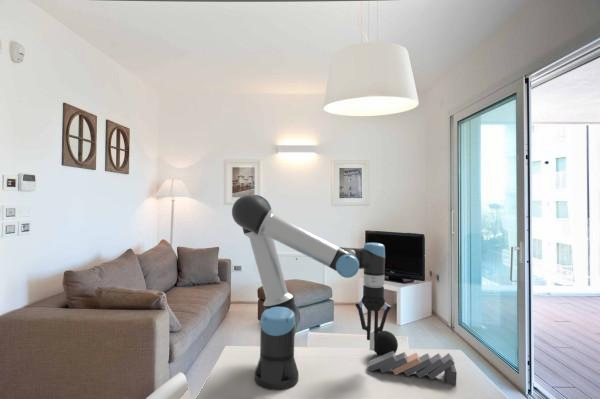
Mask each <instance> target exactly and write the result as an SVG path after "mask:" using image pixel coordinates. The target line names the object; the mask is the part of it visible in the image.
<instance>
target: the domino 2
mask: <svg viewBox="0 0 600 399" xmlns="http://www.w3.org/2000/svg"><path fill="white" fill-rule="evenodd" d="M395 355H396V354H395ZM407 357H408V356H407V354H406V352H402V353H399V354H397V355H396V361H395V362H393V363H391V364H388V365H386V366H383V367H381V368H379V371H380V372H381V373H382V374H384V373H387V372H388V371H392V369H394V368H396V367H399V366H401V365H403V364H406V363H408V361H407Z"/></svg>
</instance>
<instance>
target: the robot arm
mask: <svg viewBox="0 0 600 399" xmlns="http://www.w3.org/2000/svg"><path fill="white" fill-rule="evenodd" d="M231 215H232V219H233V221H234V222H235V224H237V225H238V226H240V227H241V228H242V231H243V235H245V236H246V237H248V238H249V242H250V245H251V248H252V252H253V256H254V260H255V264H256V268H257V272H258V274H259V278H260V281H261V285H262V289H263V293H264V296H265V300H264V302H263V303H262V304H263V308H264V311H263V312H262V313H261V316H260V320H259V323H260V326H259V327H260V337H259V338H260V340H259V341H260V342H259V343H260V344H259V345H260V346H259V349H260V350H259V351H260V353H259V359H258V362H257V364H256V368H255V371H254V383H255V384H256V385H257V386H259V387H261V388H263V389H266V390H273V391H274V390H275V391H278V390H279V391H280V390H285V389H290V388H292V387H294V386H296V385H297V384H298V382H299V374H300V373H299V370H298V369H299V368H298V367H297V362H296V359H295V335H296V331H297V329H298V327H299V324H300V321H301V312H300V308H299V307H298V305H297V304H296V302H295V298H294V295H293V294H292V293H291V292H289V291H288V288H287V285H286V281H285V280H286V279H285V277H284V273H283V269H282V266H281V262H280V259H279V255H278V252H277V249H276V245H275V244H276V243H275V241H276V242H279V243H281V244H283V245H284V246H287V247H288V248H290V249H292V250H294V251H297V252H298V253H300V254H301V255H304V256H307V257H308V258H310V259H312V260H315V261H316V262H318V263H320V264H322V265H324V266H326V267H327V268H330V269H331V270H334V271H336V272H337V274H339V275H340V276H341V277H343V278H347V279H350V278H353V277H355V276H356V275H357V273H358V272H359V269H360V270H363V282H362V283H363V289H362V291H363V292H362V298H361V300H359V301H357V302H356V303H355V307H356V309H357V311H358V316H359V321H360V325H361V329H362V330H363V331H366V340H367V341H369V351H371V352H372V351H374V341H377V339H378V332H382V331H384V328H385V323H386V320H387V317H388V313H389V312H390V310H391V309H392V308H391V307H392V306H391V304H388V303H387V302H386V299H385V298H384V297H385V286H384V285H385V269H386V266H385V264H386V247H385V245H384V244H382V243H379V242H366V243H364V247H361V248H357V247H343V246H340V247H338V246H337V245H335V244H334V243H333V244H332V243H331V242H329V241H327V240H325V239H323V238H321V237H319V236H317V235H315V234H313V233H311V232H309V231H307V230H305V229H304V228H301V227H299V226H298V225H295V224H294V223H292V222H290V221H287V220H285V219H283V218H282V217H279V216H278V215H275V214H274V212H273V210H272V206H271V204H270V203H269V200H268V199H266V198H265V197H263V196H261V195H257V194H251V195H244V196H240V197H239V198H237V199H236V201H235V202H234V203H233V205H232V207H231ZM363 306H364V307H365V309H366V310H367V311H366V312H367V316H366V317H367V318H365V315H364V311H363ZM382 308H383V310H384V311H383V314H382V318H381V321H380V324H379V311H380V310H381V309H382ZM372 312H374V322H373V324H374V325H373V326H374V327H373V329H374V330H371V328H372ZM365 319H367V320H365ZM366 321H367V322H366ZM374 352H375V351H374Z"/></svg>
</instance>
